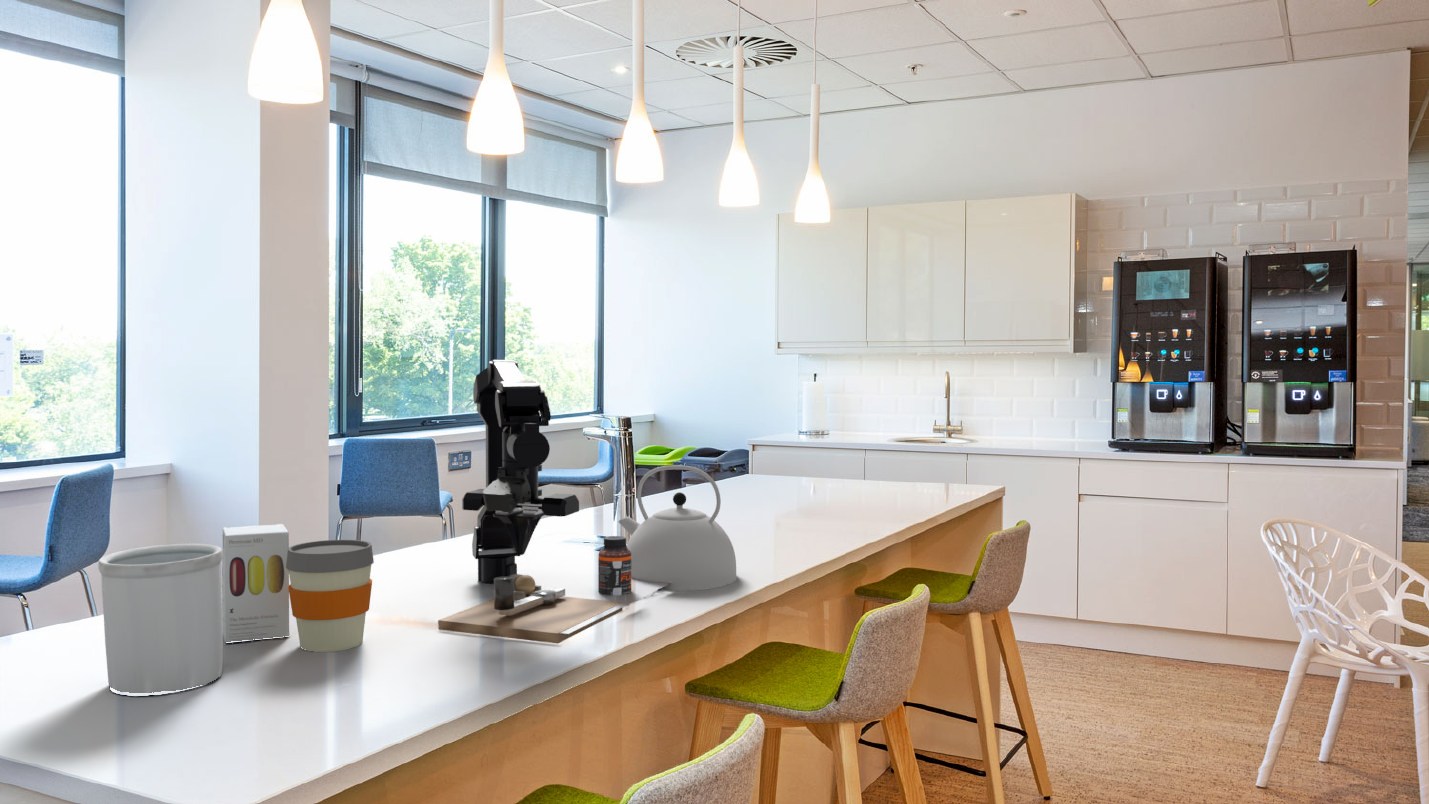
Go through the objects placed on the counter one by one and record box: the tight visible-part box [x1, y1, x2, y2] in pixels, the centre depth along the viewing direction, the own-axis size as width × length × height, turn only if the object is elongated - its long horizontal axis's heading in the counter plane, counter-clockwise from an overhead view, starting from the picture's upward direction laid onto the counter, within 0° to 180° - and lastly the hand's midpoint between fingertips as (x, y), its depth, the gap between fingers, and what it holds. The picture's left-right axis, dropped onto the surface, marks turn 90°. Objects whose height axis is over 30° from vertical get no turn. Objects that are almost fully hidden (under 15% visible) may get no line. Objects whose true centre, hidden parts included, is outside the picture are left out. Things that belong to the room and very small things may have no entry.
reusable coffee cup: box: [286, 539, 375, 653], centre depth 160 cm, size 13×13×15 cm
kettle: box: [617, 464, 738, 592], centre depth 208 cm, size 25×23×22 cm
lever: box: [493, 576, 566, 616], centre depth 176 cm, size 18×4×6 cm, turn 154°
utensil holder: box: [97, 543, 224, 693], centre depth 142 cm, size 15×15×18 cm
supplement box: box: [221, 523, 290, 643], centre depth 165 cm, size 10×9×17 cm
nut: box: [515, 574, 536, 595], centre depth 186 cm, size 4×4×4 cm
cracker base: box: [437, 573, 623, 644], centre depth 176 cm, size 22×24×4 cm
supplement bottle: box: [597, 535, 632, 596], centre depth 189 cm, size 6×6×11 cm
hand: (520, 554), depth 172 cm, fingers closed
